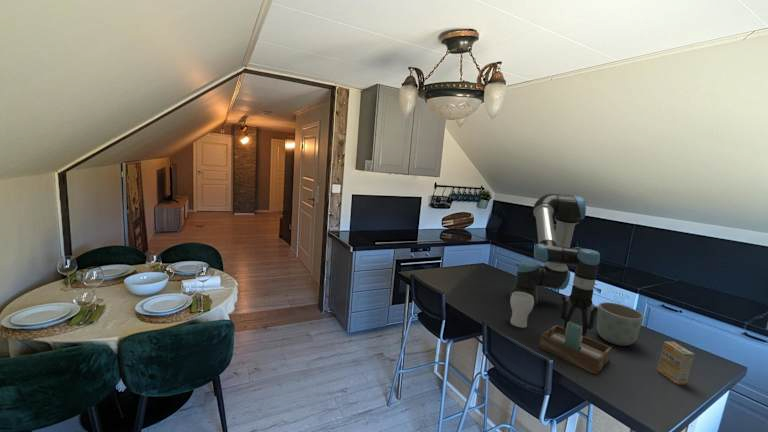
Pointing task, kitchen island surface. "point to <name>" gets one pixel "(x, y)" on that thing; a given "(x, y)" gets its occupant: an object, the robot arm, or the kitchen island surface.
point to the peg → (572, 336)
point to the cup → (521, 308)
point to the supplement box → (675, 362)
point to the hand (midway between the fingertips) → (573, 338)
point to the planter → (618, 323)
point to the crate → (588, 355)
